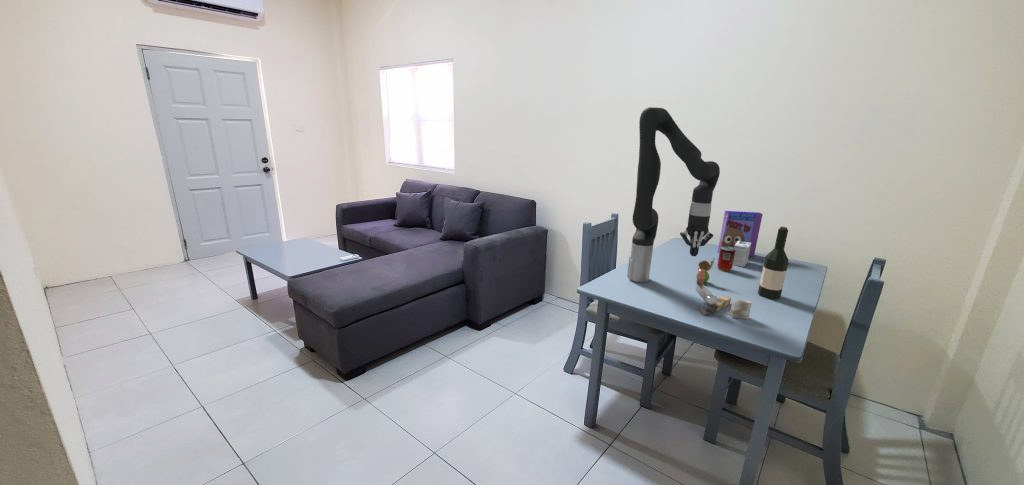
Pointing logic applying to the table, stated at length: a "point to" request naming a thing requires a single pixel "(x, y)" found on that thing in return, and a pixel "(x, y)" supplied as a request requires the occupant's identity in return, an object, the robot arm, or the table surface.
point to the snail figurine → (705, 268)
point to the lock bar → (704, 289)
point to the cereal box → (740, 229)
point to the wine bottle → (774, 268)
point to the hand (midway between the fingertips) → (693, 255)
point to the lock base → (737, 309)
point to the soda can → (726, 258)
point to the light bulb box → (741, 253)
